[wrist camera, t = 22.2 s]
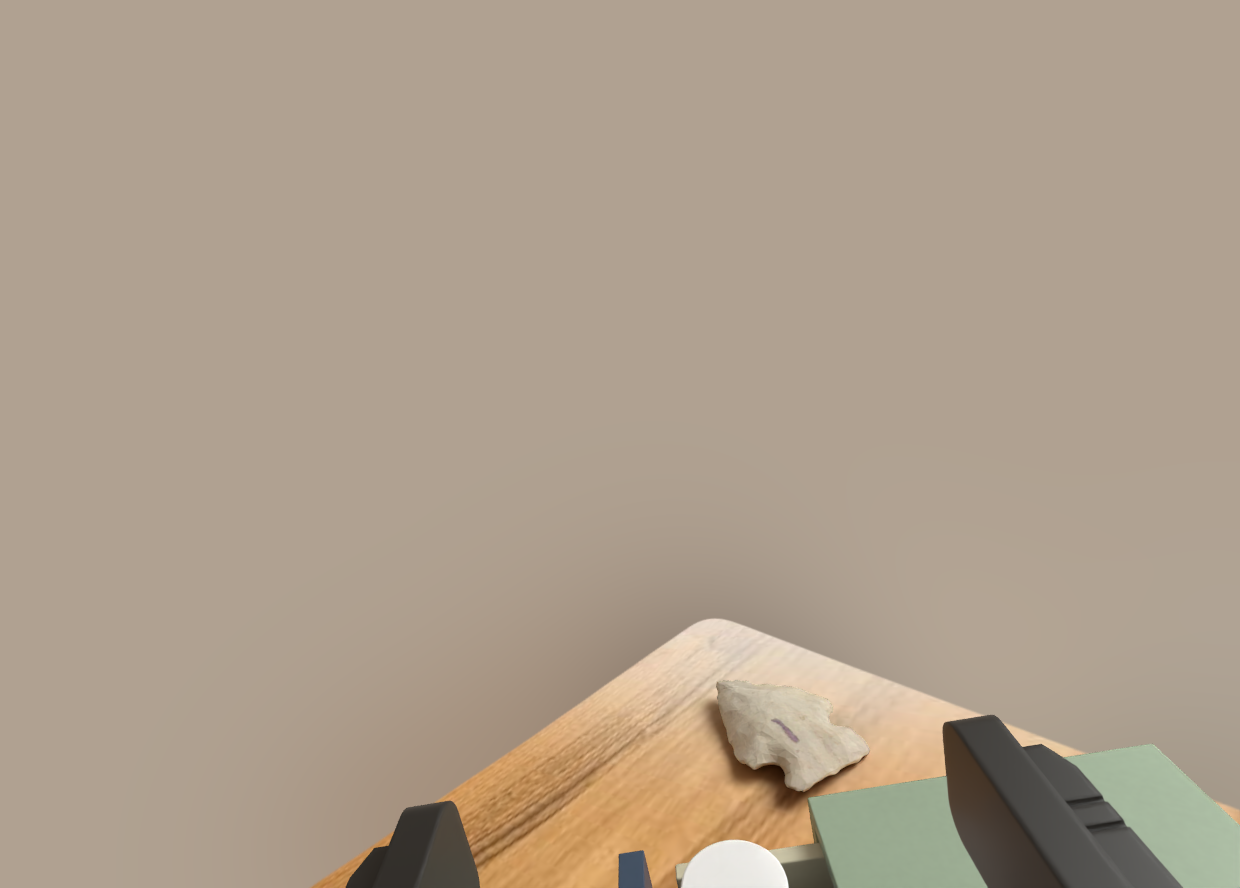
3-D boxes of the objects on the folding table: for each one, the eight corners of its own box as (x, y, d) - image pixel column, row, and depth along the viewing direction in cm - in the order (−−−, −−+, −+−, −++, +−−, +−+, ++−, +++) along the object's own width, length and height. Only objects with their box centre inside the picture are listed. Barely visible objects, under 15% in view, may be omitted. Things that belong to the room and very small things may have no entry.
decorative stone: (798, 827, 42) (798, 790, 41) (675, 719, 52) (673, 687, 51) (882, 760, 47) (884, 725, 45) (755, 671, 56) (754, 640, 55)
